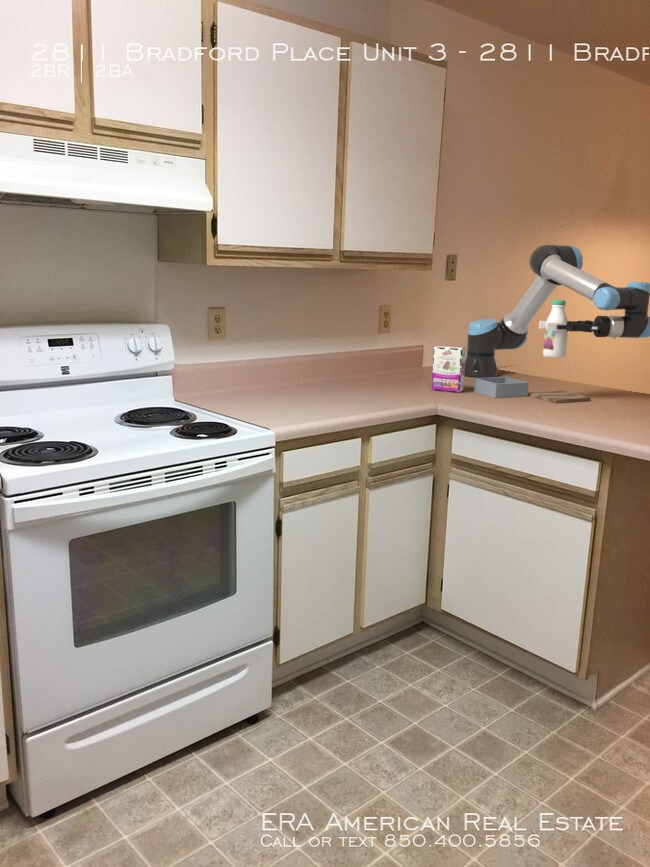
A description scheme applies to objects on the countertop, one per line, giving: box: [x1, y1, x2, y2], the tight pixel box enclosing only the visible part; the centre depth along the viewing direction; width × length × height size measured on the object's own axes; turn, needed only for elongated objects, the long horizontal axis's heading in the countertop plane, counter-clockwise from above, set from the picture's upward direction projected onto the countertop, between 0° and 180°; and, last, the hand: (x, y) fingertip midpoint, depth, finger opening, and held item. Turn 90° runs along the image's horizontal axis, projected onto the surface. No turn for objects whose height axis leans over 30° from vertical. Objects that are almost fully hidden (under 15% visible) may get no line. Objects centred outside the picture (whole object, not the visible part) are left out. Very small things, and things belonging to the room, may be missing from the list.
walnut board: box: [528, 390, 591, 404], centre depth 262 cm, size 15×15×1 cm
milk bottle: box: [542, 299, 569, 359], centre depth 257 cm, size 8×8×20 cm
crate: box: [473, 376, 530, 399], centre depth 268 cm, size 14×14×5 cm
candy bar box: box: [431, 345, 467, 394], centre depth 271 cm, size 11×5×16 cm, turn 62°
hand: (543, 325), depth 256 cm, fingers closed on milk bottle, 7 cm apart
